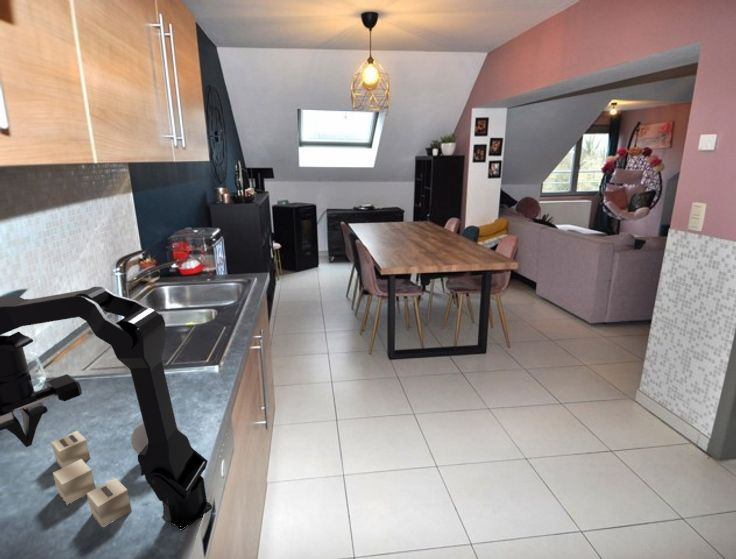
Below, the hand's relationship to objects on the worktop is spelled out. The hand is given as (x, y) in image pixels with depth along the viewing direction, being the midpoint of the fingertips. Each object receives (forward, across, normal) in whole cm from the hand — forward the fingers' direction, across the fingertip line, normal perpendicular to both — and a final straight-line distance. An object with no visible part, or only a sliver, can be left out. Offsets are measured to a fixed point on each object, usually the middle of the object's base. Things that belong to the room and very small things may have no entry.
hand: (28, 445), depth 79 cm
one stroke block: (+13, -7, +13) cm, 20 cm away
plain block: (+13, -5, +2) cm, 14 cm away
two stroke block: (+13, -8, -9) cm, 18 cm away
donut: (+13, -20, +5) cm, 25 cm away
